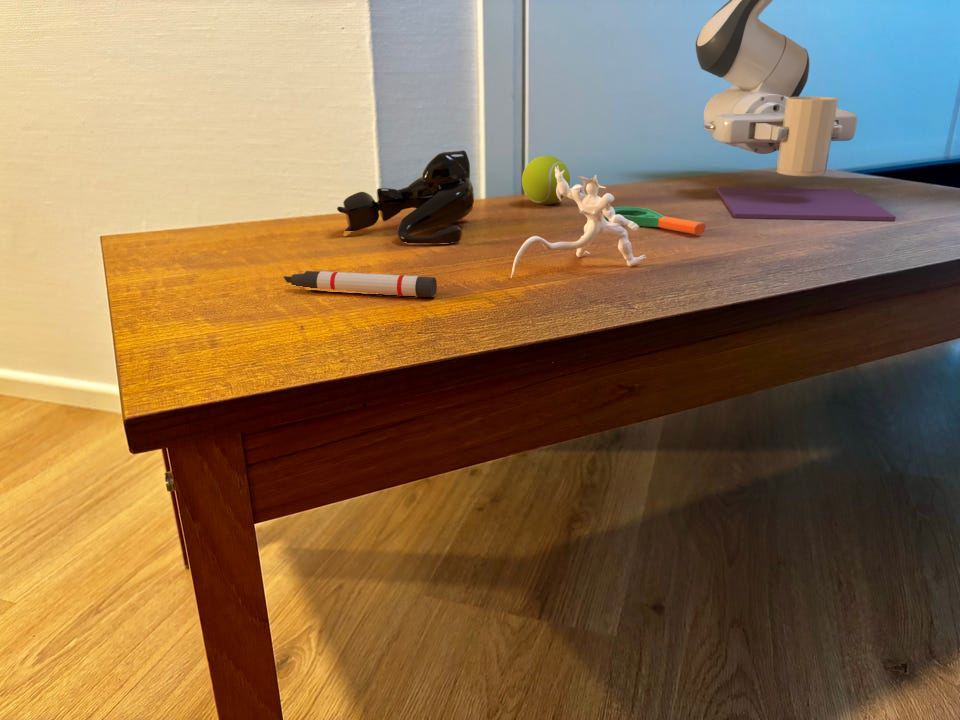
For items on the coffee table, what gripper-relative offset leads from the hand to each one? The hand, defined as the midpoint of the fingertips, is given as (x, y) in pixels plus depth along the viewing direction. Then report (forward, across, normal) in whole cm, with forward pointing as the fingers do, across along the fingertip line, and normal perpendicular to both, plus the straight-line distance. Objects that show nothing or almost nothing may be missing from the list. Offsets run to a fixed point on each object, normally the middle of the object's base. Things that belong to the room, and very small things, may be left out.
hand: (810, 133), depth 101 cm
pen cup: (-1, 0, +6) cm, 6 cm away
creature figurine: (+27, -38, +10) cm, 48 cm away
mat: (-1, 0, +10) cm, 10 cm away
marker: (+31, -62, +10) cm, 70 cm away
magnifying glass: (+9, -25, +10) cm, 28 cm away
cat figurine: (+8, -55, +10) cm, 56 cm away
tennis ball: (-8, -35, +10) cm, 38 cm away
